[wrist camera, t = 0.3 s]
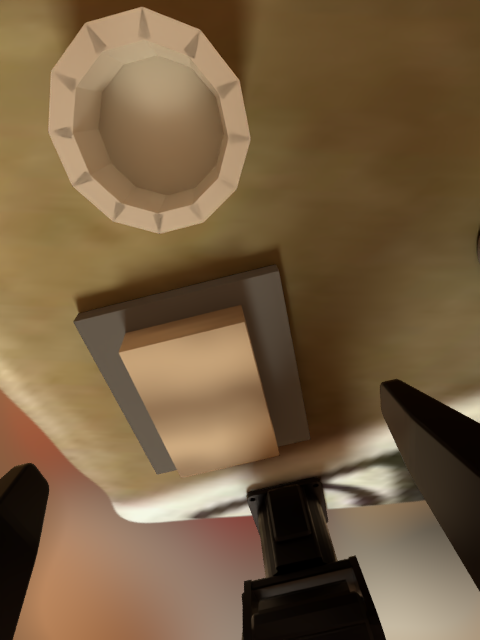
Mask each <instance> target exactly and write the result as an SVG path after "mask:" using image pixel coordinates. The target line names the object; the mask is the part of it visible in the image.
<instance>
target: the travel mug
mask: <svg viewBox="0 0 480 640" xmlns="http://www.w3.org/2000/svg"><path fill="white" fill-rule="evenodd" d="M477 251H478V260H479V263H480V236H479V240H478V248H477Z"/></svg>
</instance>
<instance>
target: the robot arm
mask: <svg viewBox="0 0 480 640" xmlns="http://www.w3.org/2000/svg"><path fill="white" fill-rule="evenodd" d="M380 398H381V410H382V414H383V416H384V419H385V421H386V423H387V425H388V427H389V430H390V432H391V434H392V436H393V438H394V441H395V443H396V445H397V447H398V449H399V452H400V454H401V456H402V458H403V460H404V463H405V465H406V467H407V469H408V471H409V473H410V475H411V476H412V478H413V480H414V482H415V484H416V485H417V487H418V489H419V490H420V492H421V494H422V495H423V497H424V499H425V500H426V502H427V504H428V505H429V507H430V509H431V510H432V512H433V514H434V515H435V517H436V519H437V521H438V522H439V524H440V526H441V527H442V529H443V530H444V532H445V534H446V536H447V537H448V539H449V541H450V542H451V544H452V546H453V547H454V549H455V551H456V552H457V554H458V556H459V557H460V559H461V561H462V563H463V564H464V566H465V567H466V569H467V571H468V573H469V574H470V576H471V578H472V579H473V581H474V583H475V584H476V586H477V588H478V589H479V591H480V423H478V422H476V421H474V420H473V419H471V418H469V417H467V416H465V415H463V414H461V413H460V412H458V411H456V410H454V409H452V408H450V407H449V406H447V405H445V404H443V403H441V402H439V401H438V400H436V399H434V398H432V397H430V396H428V395H426V394H425V393H423V392H421V391H419V390H417V389H415V388H414V387H412V386H410V385H408V384H406V383H404V382H402V381H401V380H398V379H394V380H389V381H385V382H382V383H381V385H380ZM48 495H49V485H48V482H47V481H46V479H45V478H44V477H43V475H42V474H41V473H40V471H39V470H38V469H37V467H36V466H35V465H34V464H32V463H27V464H22V465H18V466H15V467H14V468H12V469H11V470H10V471H9V472H8V473H6V475H4V476H3V477H2V478H1V479H0V640H13V637H14V633H15V630H16V626H17V623H18V619H19V616H20V612H21V608H22V605H23V602H24V598H25V595H26V591H27V588H28V584H29V581H30V577H31V574H32V571H33V567H34V564H35V560H36V556H37V552H38V547H39V542H40V537H41V532H42V527H43V521H44V516H45V510H46V505H47V500H48ZM247 502H248V505H249V508H250V510H251V513H252V516H253V518H254V521H255V524H256V527H257V529H258V532H259V535H260V538H261V546H262V553H263V560H264V568H265V576H266V578H263V579H258V580H254V581H252V580H248V581H244V593H243V594H242V602H243V603H242V604H243V633H242V640H386V638H385V635H384V632H383V629H382V626H381V623H380V620H379V617H378V614H377V611H376V609H375V606H374V603H373V601H372V598H371V595H370V593H369V590H368V588H367V585H366V582H365V579H364V577H363V574H362V571H361V569H360V566H359V563H358V561H357V558H356V556H351V557H349V558H348V559H344V560H340V561H337V558H336V554H335V551H334V547H333V544H332V541H331V537H330V534H329V531H328V528H327V524H326V523H327V522H328V517H327V511H326V506H325V500H324V495H323V489H322V484H321V481H320V479H319V478H310V479H306V480H301V481H297V482H293V483H288V484H284V485H279V486H275V487H270V488H266V489H261V490H257V491H253V492H249V493H248V494H247Z"/></svg>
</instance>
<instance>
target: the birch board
mask: <svg viewBox="0 0 480 640" xmlns="http://www.w3.org/2000/svg"><path fill="white" fill-rule="evenodd" d="M119 355H120V357H121V359H122V361H123V363H124V365H125V367H126V369H127V371H128V373H129V375H130V377H131V379H132V381H133V383H134V385H135V387H136V389H137V391H138V393H139V395H140V397H141V399H142V401H143V403H144V405H145V407H146V409H147V411H148V413H149V415H150V417H151V419H152V421H153V423H154V425H155V427H156V429H157V431H158V433H159V435H160V437H161V439H162V441H163V443H164V445H165V447H166V449H167V451H168V453H169V455H170V457H171V459H172V461H173V463H174V465H175V467H176V469H177V471H178V473H179V475H180V477H181V478H184V477H188V476H193V475H197V474H201V473H206V472H210V471H214V470H219V469H223V468H228V467H232V466H236V465H241V464H245V463H249V462H254V461H258V460H263V459H267V458H271V457H276V456H280V455H279V451H278V446H277V442H276V437H275V433H274V429H273V425H272V421H271V417H270V413H269V409H268V406H267V402H266V398H265V394H264V390H263V386H262V383H261V379H260V375H259V371H258V367H257V363H256V359H255V356H254V352H253V348H252V344H251V340H250V336H249V332H248V329H247V325H246V321H245V317H244V313H243V309H242V306H241V305H238V306H234V307H230V308H226V309H222V310H218V311H214V312H210V313H206V314H201V315H197V316H193V317H189V318H185V319H181V320H177V321H173V322H169V323H165V324H161V325H157V326H153V327H149V328H145V329H140V330H136V331H132V332H128V333H125V336H124V339H123V342H122V345H121V347H120V350H119Z"/></svg>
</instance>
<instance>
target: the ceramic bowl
mask: <svg viewBox="0 0 480 640" xmlns="http://www.w3.org/2000/svg"><path fill="white" fill-rule="evenodd" d="M48 133H49V135H50V137H51V139H52V142H53V144H54V146H55V148H56V150H57V153H58V155H59V157H60V159H61V162H62V164H63V166H64V168H65V171H66V173H67V175H68V177H69V179H70V182H71V184H72V186H73V187H74V188H75V189H76V190H78V191H79V192H80V193H81V194H82V195H83V196H84V197H86V198H87V199H88V200H89V201H90V202H91V203H92V204H94V205H95V206H96V207H97V208H98V209H99V210H101V211H102V212H103V213H104V214H105V215H106V216H107V217H109V218H110V219H111V220H112V221H113V222H117V223H121V224H125V225H129V226H132V227H136V228H140V229H144V230H148V231H151V232H155V233H159V234H160V233H164V232H168V231H172V230H176V229H180V228H184V227H188V226H192V225H195V224H199V223H203V222H204V221H205V220H206V219H207V218H208V217H209V216H210V215H211V214H212V213H213V212H214V211H215V210H216V209H217V208H218V207H219V206H220V205H221V204H222V203H223V202H224V201H225V200H226V199H227V198H228V197H229V196H230V195H231V194H232V193H233V192H234V191H235V190H236V189H237V185H238V182H239V178H240V175H241V171H242V168H243V164H244V161H245V157H246V154H247V150H248V147H249V143H250V140H251V138H250V133H249V127H248V122H247V117H246V112H245V107H244V101H243V96H242V91H241V86H240V80H239V79H238V78H237V77H236V75H235V74H234V73H233V71H232V70H231V69H230V68H229V66H228V65H227V64H226V62H225V61H224V60H223V58H222V57H221V56H220V55H219V53H218V52H217V51H216V49H215V48H214V47H213V45H212V44H211V43H210V42H209V40H208V39H207V38H206V36H205V35H204V34H203V33H202V31H201V30H200V29H197V28H195V27H192V26H190V25H187V24H185V23H182V22H180V21H177V20H174V19H172V18H169V17H167V16H164V15H162V14H159V13H157V12H154V11H152V10H149V9H147V8H144V7H139V8H136V9H132V10H129V11H125V12H122V13H118V14H115V15H111V16H107V17H104V18H100V19H97V20H93V21H90V22H86V23H85V24H84V25H83V27H82V28H81V30H80V31H79V32H78V34H77V35H76V37H75V38H74V40H73V41H72V42H71V44H70V45H69V47H68V48H67V49H66V51H65V52H64V54H63V55H62V57H61V58H60V59H59V61H58V62H57V64H56V65H55V66H54V68H53V69H52V71H51V84H50V106H49V128H48Z"/></svg>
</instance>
